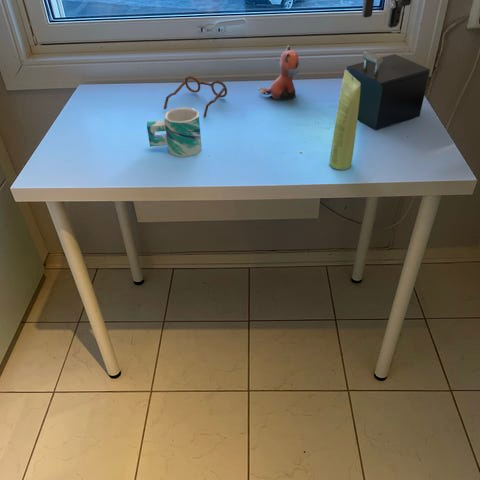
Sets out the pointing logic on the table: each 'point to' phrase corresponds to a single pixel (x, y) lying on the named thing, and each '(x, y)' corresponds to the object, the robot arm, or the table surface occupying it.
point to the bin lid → (386, 68)
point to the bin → (390, 101)
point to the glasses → (198, 91)
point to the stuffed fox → (284, 77)
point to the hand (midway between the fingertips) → (379, 21)
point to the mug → (177, 132)
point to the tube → (345, 123)
